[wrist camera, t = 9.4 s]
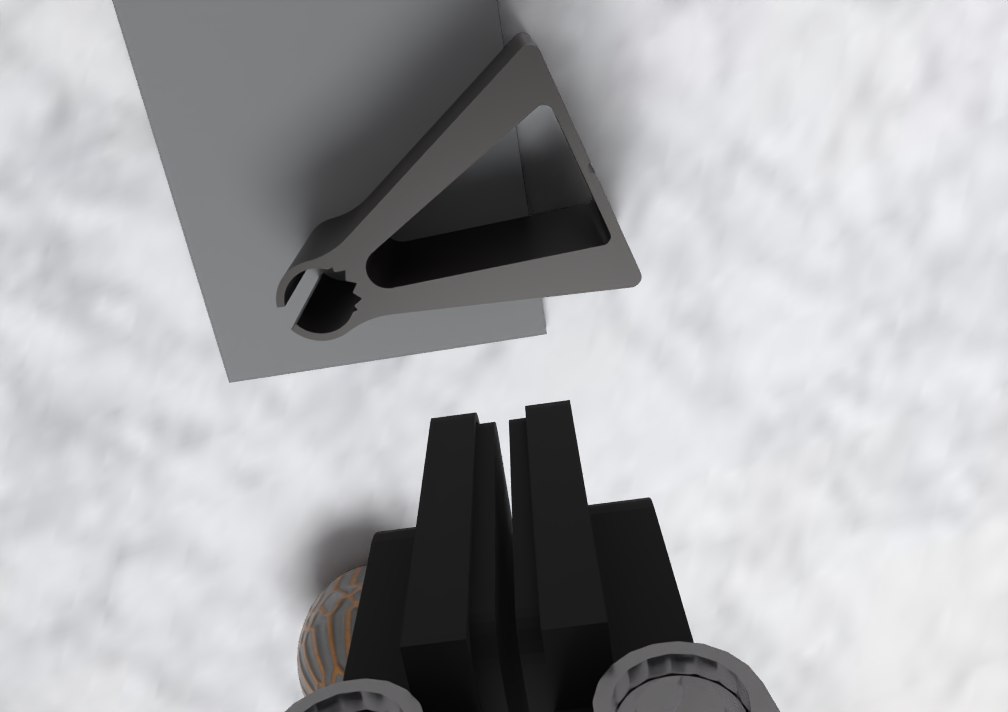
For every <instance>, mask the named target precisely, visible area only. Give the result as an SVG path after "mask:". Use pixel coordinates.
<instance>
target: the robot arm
mask: <svg viewBox="0 0 1008 712" xmlns="http://www.w3.org/2000/svg"><path fill="white" fill-rule="evenodd" d="M525 411H526V418H521V419H513V420H509V436H510V466H511V496H512V516H511V510H510V504H509V498H508V492H507V486H506V480H505V473H504V467H503V461H502V455H501V449H500V443H499V437H498V431H497V427H496V423H495V422H490V423H483V424H480V423H479V419H478V415H477V413H469V414H461V415H454V416H446V417H439V418H431V422H430V429H429V436H428V443H427V451H426V458H425V465H424V473H423V480H422V487H421V495H420V502H419V509H418V516H417V524H416V527H413V528H405V529H397V530H389V531H381V532H377V533H376V534H374V537H373V540H372V544H371V548H370V553H369V558H368V563H367V567H366V572H365V577H364V582H363V586H362V591H361V596H360V601H359V606H358V610H357V615H356V620H355V625H354V629H353V634H352V639H351V644H350V649H349V653H348V658H347V663H346V668H345V672H344V677H343V681H341V682H338V683H335V684H332V685H329V686H326V687H324V688H321V689H318V690H316V691H314V692H312V693H311V694H309V695H307V696H306V697H304V698H302V699H301V700H299V701H297V702H295V703H294V704H293V705H292V706H291V707H290V708H288V709H287V710H286V711H285V712H780V711H779V709H778V707H777V706H776V704H775V702H774V701H773V699H772V697H771V695H770V694H769V692H768V690H767V689H766V687H765V685H764V684H763V682H762V681H761V680H760V679H759V678H758V676H757V675H756V674H755V673H754V672H753V670H752V669H751V668H750V667H749V666H748V665H747V664H745V663H744V662H742V661H741V660H739V659H738V658H736V657H735V656H733V655H731V654H730V653H728V652H726V651H723V650H720V649H717V648H714V647H711V646H708V645H705V644H700V643H694V642H693V638H692V635H691V632H690V628H689V625H688V621H687V618H686V615H685V611H684V608H683V604H682V601H681V597H680V594H679V591H678V587H677V584H676V580H675V577H674V574H673V570H672V567H671V563H670V560H669V557H668V553H667V550H666V546H665V543H664V540H663V536H662V533H661V529H660V526H659V522H658V519H657V516H656V512H655V509H654V506H653V503H652V500H651V499H650V498H641V499H633V500H625V501H617V502H610V503H602V504H594V505H588V503H587V497H586V491H585V486H584V480H583V474H582V468H581V462H580V457H579V451H578V445H577V439H576V434H575V428H574V422H573V416H572V410H571V405H570V400H567V401H559V402H552V403H544V404H537V405H529V406H525Z"/></svg>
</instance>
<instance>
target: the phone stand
mask: <svg viewBox="0 0 1008 712" xmlns="http://www.w3.org/2000/svg"><path fill="white" fill-rule="evenodd" d="M540 105H548V106H550V107H551V108H552V109H553V111H554V113H555V116H556V118H557V120H558V122H559V124H560V127H561V129H562V131H563V133H564V135H565V137H566V140H567V142H568V144H569V146H570V148H571V150H572V153H573V155H574V157H575V159H576V161H577V163H578V166H579V168H580V170H581V172H582V174H583V177H584V179H585V181H586V183H587V185H588V187H589V190H590V192H591V194H592V199H591V201H590V202H589V203H588V204H584V205H579V206H574V207H569V208H565V209H560V210H555V211H550V212H545V213H540V214H535V215H531V216H526V217H521V218H516V219H511V220H506V221H501V222H497V223H492V224H487V225H482V226H477V227H472V228H467V229H463V230H458V231H453V232H448V233H443V234H438V235H434V236H429V237H424V238H419V239H414V240H409V241H404V242H401V241H396V240H393V239H392V238H390V237H391V236H392V235H393V234H394V233H395V232H396V231H397V230H398V229H400V228H401V227H402V226H403V225H404V224H405V223H406V222H408V221H409V220H410V219H411V218H412V217H413V216H414V215H415V214H417V213H418V212H419V211H420V210H421V209H422V208H423V207H425V206H426V205H427V204H428V203H429V202H430V201H431V200H432V199H434V198H435V197H436V196H437V195H438V194H439V193H440V192H442V191H443V190H444V189H445V188H446V187H447V186H448V185H449V184H451V183H452V182H453V181H454V180H455V179H456V178H457V177H458V176H460V175H461V174H462V173H463V172H464V171H465V170H466V169H468V168H469V167H470V166H471V165H472V164H473V163H474V162H475V161H477V160H478V159H479V158H480V157H481V156H482V155H483V154H485V153H486V152H487V151H488V150H489V149H490V148H491V147H492V146H494V145H495V144H496V143H497V142H498V141H499V140H500V139H502V138H503V137H504V136H505V135H506V134H507V133H508V132H509V131H511V130H512V129H513V128H514V127H515V126H516V125H517V124H519V123H520V122H521V121H522V120H523V119H524V118H525V117H526V116H528V115H529V114H530V113H531V112H532V111H533V110H534V109H536V108H537V107H538V106H540ZM313 268H321V269H327V270H328V269H330V268H333V270H334V272H338V271H343V270H345V271H346V281H340V280H336V279H333V278H330V277H329V276H327V275H326V274H324V273H323V274H322V275H321V276H320V277H319V278H318V280H317V282H316V283H315V285H314V287H313V289H312V291H311V293H310V295H309V297H308V298H307V300H306V302H305V304H304V306H303V308H302V310H301V312H300V313H299V315H298V317H297V319H296V321H295V323H294V325H293V327H292V328H291V330H292V331H293V332H295V333H296V334H298V335H300V336H302V337H304V338H307V339H311V340H316V341H327V340H333V339H336V338H339V337H341V336H343V335H345V334H346V333H348V332H349V331H350V330H352V329H353V328H355V327H356V326H358V325H360V324H362V323H364V322H366V321H368V320H371V319H374V318H377V317H381V316H385V315H392V314H400V313H409V312H418V311H427V310H436V309H445V308H453V307H462V306H471V305H480V304H489V303H497V302H506V301H515V300H524V299H533V298H541V297H550V296H559V295H568V294H577V293H586V292H594V291H603V290H612V289H621V288H630V287H634V286H636V285H638V284H639V282H640V281H641V273H640V270H639V268H638V266H637V264H636V262H635V259H634V257H633V255H632V253H631V250H630V248H629V246H628V244H627V242H626V239H625V237H624V235H623V233H622V231H621V228H620V226H619V224H618V222H617V220H616V217H615V215H614V213H613V211H612V209H611V206H610V204H609V202H608V200H607V198H606V195H605V193H604V191H603V189H602V187H601V184H600V182H599V180H598V178H597V176H596V173H595V171H594V170H593V168H592V166H591V164H590V160H589V158H588V156H587V154H586V151H585V149H584V147H583V145H582V143H581V140H580V138H579V136H578V134H577V132H576V129H575V127H574V125H573V123H572V121H571V118H570V116H569V114H568V112H567V110H566V107H565V105H564V103H563V101H562V99H561V96H560V94H559V92H558V90H557V88H556V85H555V83H554V81H553V79H552V77H551V74H550V72H549V70H548V68H547V65H546V63H545V61H544V59H543V57H542V54H541V52H540V50H539V49H538V47H537V46H536V44H535V43H534V41H533V40H532V39H531V37H530V36H529V35H528V34H527V33H518V34H516V35H515V36H514V37H513V39H512V40H511V41H510V42H509V43H508V44H507V45H506V46H505V47H504V48H503V49H502V51H501V52H500V53H499V54H498V55H497V56H496V57H495V58H494V59H493V60H492V62H491V63H490V64H489V65H488V66H487V67H486V68H485V69H484V70H483V71H482V72H481V74H480V75H479V76H478V77H477V78H476V79H475V80H474V81H473V82H472V83H471V85H470V86H469V87H468V88H467V89H466V90H465V91H464V92H463V93H462V94H461V95H460V97H459V98H458V99H457V100H456V101H455V102H454V103H453V104H452V105H451V106H450V107H449V109H448V110H447V111H446V112H445V113H444V114H443V115H442V116H441V117H440V118H439V120H438V121H437V122H436V123H435V124H434V125H433V126H432V127H431V128H430V129H429V130H428V132H427V133H426V134H425V135H424V136H423V137H422V138H421V139H420V140H419V141H418V143H417V144H416V145H415V146H414V147H413V148H412V149H411V150H410V151H409V152H408V153H407V155H406V156H405V157H404V158H403V159H402V160H401V161H400V162H399V163H398V164H397V166H396V167H395V168H394V169H393V170H392V171H391V172H390V173H389V174H388V175H387V176H386V178H385V179H384V180H383V181H382V182H381V183H380V184H379V185H378V186H377V187H376V189H375V190H374V191H373V192H372V193H371V194H370V195H369V196H368V197H367V198H366V199H365V200H364V201H363V202H362V203H361V204H360V205H359V206H357V207H356V208H354V209H353V210H351V211H349V212H347V213H346V214H343V215H341V216H338V217H335V218H331V219H328V220H326V221H324V222H322V223H321V224H319V225H318V226H317V227H316V228H315V229H314V230H313V232H312V233H311V234H310V236H309V238H308V239H307V241H306V242H305V244H304V245H303V247H302V248H301V250H300V251H299V253H298V254H297V256H296V258H295V259H294V261H293V262H292V264H291V265H290V267H289V268H288V270H287V271H286V273H285V274H284V276H283V278H282V279H281V281H280V283H279V285H278V288H277V292H276V305H277V308H279V307H285V306H286V304H287V302H288V301H289V299H290V297H291V296H292V294H293V292H294V291H295V289H296V287H297V285H298V284H299V282H300V280H301V279H302V277H303V275H304V274H305V272H306V270H308V269H313Z"/></svg>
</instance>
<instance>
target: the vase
mask: <svg viewBox="0 0 1008 712" xmlns="http://www.w3.org/2000/svg"><path fill="white" fill-rule="evenodd" d="M366 567H367V565H366V566H362V567H358V568H355V569H352V570H350V571H347V572H345V573H344V574H342V575H340V576H339V577H338V578H336V579H335V580H334V581H332V582H331V583H330V584H329V585H328V586H327V587H326V588H325V589H324V590H323V591H322V593H321V594H320V595H319V596H318V597H317V599H316V600H315V602H314V603H313V605H312V607H311V608H310V610H309V612H308V615H307V617H306V619H305V622H304V625H303V628H302V631H301V635H300V639H299V644H298V655H297V663H298V674H299V680H300V685H301V689H302V692H303V694H304V697H306V696H307V695H309V694H311V693H312V692H314V691H316V690H318V689H321V688H324V687H326V686H329V685H332V684H335V683H338V682H341V681H343V677H344V672H345V668H346V663H347V658H348V653H349V649H350V644H351V639H352V634H353V629H354V625H355V620H356V615H357V610H358V606H359V601H360V596H361V591H362V586H363V582H364V577H365V572H366Z"/></svg>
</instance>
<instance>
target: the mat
mask: <svg viewBox="0 0 1008 712" xmlns="http://www.w3.org/2000/svg"><path fill="white" fill-rule="evenodd" d="M112 1H113V4H114V8H115V11H116V14H117V17H118V21H119V24H120V27H121V31H122V34H123V37H124V40H125V44H126V47H127V50H128V53H129V57H130V60H131V63H132V66H133V70H134V73H135V76H136V80H137V83H138V86H139V89H140V93H141V96H142V99H143V102H144V106H145V109H146V112H147V115H148V119H149V122H150V125H151V129H152V132H153V135H154V138H155V142H156V145H157V148H158V151H159V155H160V158H161V161H162V164H163V168H164V171H165V174H166V178H167V181H168V184H169V187H170V191H171V194H172V197H173V200H174V204H175V207H176V210H177V213H178V217H179V220H180V223H181V227H182V230H183V233H184V236H185V240H186V243H187V246H188V249H189V253H190V256H191V259H192V262H193V266H194V269H195V272H196V276H197V279H198V282H199V285H200V289H201V292H202V295H203V298H204V302H205V305H206V308H207V311H208V315H209V318H210V321H211V324H212V328H213V331H214V334H215V338H216V341H217V344H218V347H219V351H220V354H221V357H222V360H223V364H224V367H225V370H226V373H227V377H228V380H229V383H231V382H237V381H244V380H250V379H257V378H263V377H270V376H276V375H283V374H289V373H296V372H303V371H309V370H316V369H322V368H329V367H335V366H342V365H348V364H355V363H361V362H368V361H374V360H381V359H387V358H394V357H400V356H407V355H413V354H420V353H426V352H433V351H439V350H446V349H452V348H459V347H465V346H472V345H478V344H485V343H491V342H498V341H504V340H511V339H517V338H524V337H530V336H537V335H543V334H547V333H546V326H545V319H544V312H543V306H542V299H541V298H533V299H524V300H515V301H506V302H497V303H489V304H480V305H471V306H462V307H453V308H445V309H436V310H427V311H418V312H409V313H400V314H392V315H385V316H381V317H377V318H374V319H371V320H368V321H366V322H364V323H362V324H360V325H358V326H356V327H355V328H353V329H352V330H350V331H349V332H348V333H346V334H345V335H343V336H341V337H339V338H336V339H333V340H327V341H316V340H311V339H307V338H304V337H302V336H300V335H298V334H296V333H295V332H293V331H292V330H291V328H292V327H293V325H294V323H295V321H296V319H297V317H298V315H299V313H300V312H301V310H302V308H303V306H304V304H305V302H306V300H307V298H308V297H309V295H310V293H311V291H312V289H313V287H314V285H315V283H316V282H317V280H318V278H319V277H320V276H321V275H322V274H323V273H324V274H326V275H327V276H329V277H330V278H333V279H336V280H340V281H346V271H345V270H343V271H338V272H334V270H333V268H330V269H328V270H327V269H321V268H313V269H308V270H306V272H305V274H304V275H303V277H302V279H301V280H300V282H299V284H298V285H297V287H296V289H295V291H294V292H293V294H292V296H291V297H290V299H289V301H288V302H287V304H286V306H285V307H279V308H277V305H276V292H277V288H278V285H279V283H280V281H281V279H282V278H283V276H284V274H285V273H286V271H287V270H288V268H289V267H290V265H291V264H292V262H293V261H294V259H295V258H296V256H297V254H298V253H299V251H300V250H301V248H302V247H303V245H304V244H305V242H306V241H307V239H308V238H309V236H310V234H311V233H312V232H313V230H314V229H315V228H316V227H317V226H318V225H319V224H321V223H322V222H324V221H326V220H328V219H331V218H335V217H338V216H341V215H343V214H346V213H347V212H349V211H351V210H353V209H354V208H356V207H357V206H359V205H360V204H361V203H362V202H363V201H364V200H365V199H366V198H367V197H368V196H369V195H370V194H371V193H372V192H373V191H374V190H375V189H376V187H377V186H378V185H379V184H380V183H381V182H382V181H383V180H384V179H385V178H386V176H387V175H388V174H389V173H390V172H391V171H392V170H393V169H394V168H395V167H396V166H397V164H398V163H399V162H400V161H401V160H402V159H403V158H404V157H405V156H406V155H407V153H408V152H409V151H410V150H411V149H412V148H413V147H414V146H415V145H416V144H417V143H418V141H419V140H420V139H421V138H422V137H423V136H424V135H425V134H426V133H427V132H428V130H429V129H430V128H431V127H432V126H433V125H434V124H435V123H436V122H437V121H438V120H439V118H440V117H441V116H442V115H443V114H444V113H445V112H446V111H447V110H448V109H449V107H450V106H451V105H452V104H453V103H454V102H455V101H456V100H457V99H458V98H459V97H460V95H461V94H462V93H463V92H464V91H465V90H466V89H467V88H468V87H469V86H470V85H471V83H472V82H473V81H474V80H475V79H476V78H477V77H478V76H479V75H480V74H481V72H482V71H483V70H484V69H485V68H486V67H487V66H488V65H489V64H490V63H491V62H492V60H493V59H494V58H495V57H496V56H497V55H498V54H499V53H500V52H501V51H502V49H503V48H504V45H503V38H502V32H501V25H500V18H499V11H498V5H497V0H112ZM526 216H529V212H528V205H527V199H526V192H525V185H524V179H523V172H522V165H521V159H520V152H519V145H518V139H517V132H516V126H515V127H514V128H513V129H512V130H511V131H509V132H508V133H507V134H506V135H505V136H504V137H503V138H502V139H500V140H499V141H498V142H497V143H496V144H495V145H494V146H492V147H491V148H490V149H489V150H488V151H487V152H486V153H485V154H483V155H482V156H481V157H480V158H479V159H478V160H477V161H475V162H474V163H473V164H472V165H471V166H470V167H469V168H468V169H466V170H465V171H464V172H463V173H462V174H461V175H460V176H458V177H457V178H456V179H455V180H454V181H453V182H452V183H451V184H449V185H448V186H447V187H446V188H445V189H444V190H443V191H442V192H440V193H439V194H438V195H437V196H436V197H435V198H434V199H432V200H431V201H430V202H429V203H428V204H427V205H426V206H425V207H423V208H422V209H421V210H420V211H419V212H418V213H417V214H415V215H414V216H413V217H412V218H411V219H410V220H409V221H408V222H406V223H405V224H404V225H403V226H402V227H401V228H400V229H398V230H397V231H396V232H395V233H394V234H393V235H392V236H391V237H390V238H392V239H393V240H396V241H401V242H404V241H409V240H414V239H419V238H424V237H429V236H434V235H438V234H443V233H448V232H453V231H458V230H463V229H467V228H472V227H477V226H482V225H487V224H492V223H497V222H501V221H506V220H511V219H516V218H521V217H526Z"/></svg>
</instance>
